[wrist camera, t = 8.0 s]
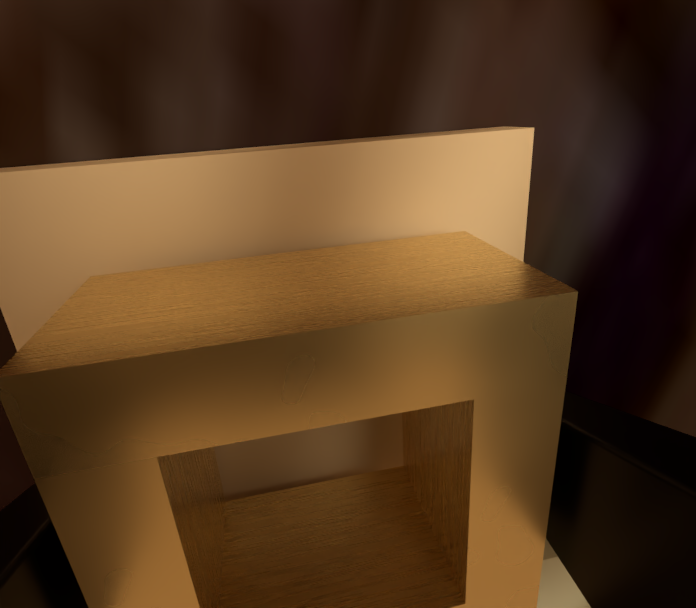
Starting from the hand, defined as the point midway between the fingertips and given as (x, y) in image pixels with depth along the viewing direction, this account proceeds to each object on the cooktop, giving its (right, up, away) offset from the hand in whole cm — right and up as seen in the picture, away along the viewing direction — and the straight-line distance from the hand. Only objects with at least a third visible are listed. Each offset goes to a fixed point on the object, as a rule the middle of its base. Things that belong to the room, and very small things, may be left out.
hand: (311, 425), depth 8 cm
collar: (0, 0, 0) cm, 1 cm away
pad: (0, +1, +2) cm, 2 cm away
